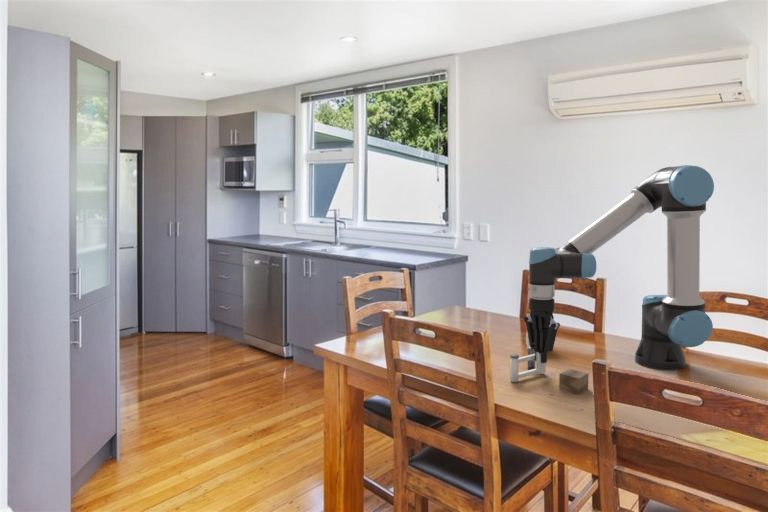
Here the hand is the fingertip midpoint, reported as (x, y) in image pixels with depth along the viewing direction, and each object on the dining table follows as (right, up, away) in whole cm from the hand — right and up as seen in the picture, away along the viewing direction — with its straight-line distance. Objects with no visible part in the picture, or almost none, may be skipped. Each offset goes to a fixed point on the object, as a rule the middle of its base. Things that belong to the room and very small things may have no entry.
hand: (540, 372), depth 169 cm
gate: (-4, -2, +1) cm, 4 cm away
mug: (+7, +1, +30) cm, 31 cm away
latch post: (0, -1, +10) cm, 10 cm away
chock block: (+7, -3, -9) cm, 12 cm away
